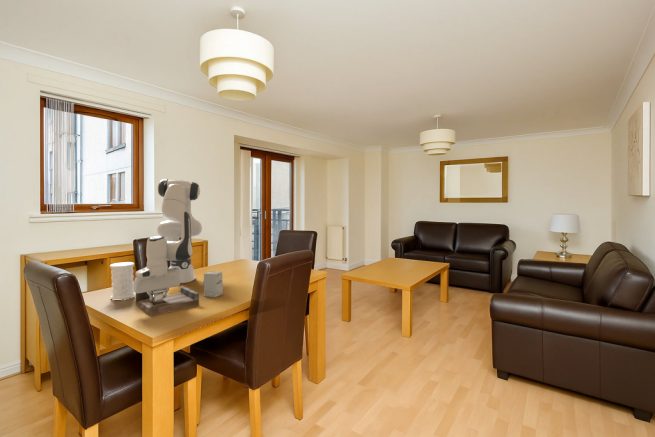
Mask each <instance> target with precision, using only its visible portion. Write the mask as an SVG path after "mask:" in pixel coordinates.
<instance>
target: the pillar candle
mask: <svg viewBox="0 0 655 437" xmlns="http://www.w3.org/2000/svg"><path fill="white" fill-rule="evenodd" d="M134 277H135V278H136V277H137V276H136V275H135V276H134ZM135 278H134V279H135ZM150 294H151V295H152V296H153V293H150ZM146 299H150V296H149V295H148V294H147V292H144V293H138V294H137V293H136V297H135V302H136V303H137V304H139V301H141V300H146Z"/></svg>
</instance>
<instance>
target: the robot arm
mask: <svg viewBox="0 0 655 437" xmlns="http://www.w3.org/2000/svg"><path fill="white" fill-rule="evenodd" d="M157 193H158V195H159V196H160V197H162V199H163V200H162V204H161V212H162V214H163V216H164V217H165V218H167V219H168V220H164V221H161V222H159V223H158V225H157V227H156V231H157V234H158V235H153V236H150V237H149V238H147V241H146V246H145V247H146V250H145V251H146V252H145V254H146V258H147V261H146V266H145V267H143V268H141V269H139V270H136V272H135V276H137V277H136V278H133V281H134V284H133V287H134V288H133V289H134V290H133V292H134V293H137V294H138V293H144V292H147V294H148V295H149V296H150V300H154V296H152V295H151V294H150V293H151V291H155V290H160V289H165V292H163V297H164V298H166V297H167V295H168V292H169V291H170V288H175V287H176V288H177V287H180V286H181V284H184V283H191V282H192V281H194V280H196V279H197V277H196V276H195V273H194V272H195V271H194V270H195V269H194V266H193V265H192V259H191V257H192V256H193V242H192V237H196V236H199V235H200V234H201V233H202V230H203V226H202V223H201V222H200V221H199V220H197V219H195V217H194V216H193V214H192V209H191V208H192V201H196V200H197V199H199V196H200V194H201V189H200V185H199V183H197V182H194V181H189V180H183V179H169V178H163V179H161V180H160V181H159V183H158V185H157ZM168 261H170V263H169V267H168Z"/></svg>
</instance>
